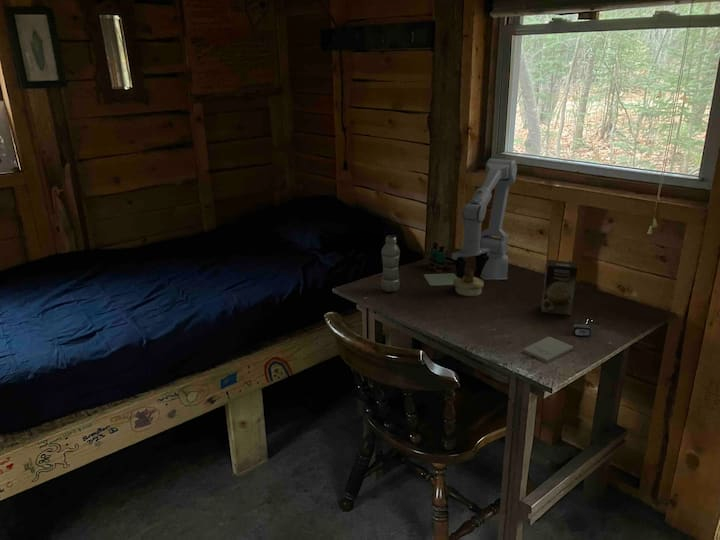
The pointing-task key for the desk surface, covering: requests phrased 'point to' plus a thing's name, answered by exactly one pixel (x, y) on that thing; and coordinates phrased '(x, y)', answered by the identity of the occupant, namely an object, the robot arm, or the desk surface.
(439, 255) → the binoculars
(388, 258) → the plastic bottle
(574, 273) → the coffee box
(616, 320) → the desk surface
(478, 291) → the bowl
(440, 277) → the mat
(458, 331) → the desk surface
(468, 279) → the lid
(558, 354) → the external hard drive
